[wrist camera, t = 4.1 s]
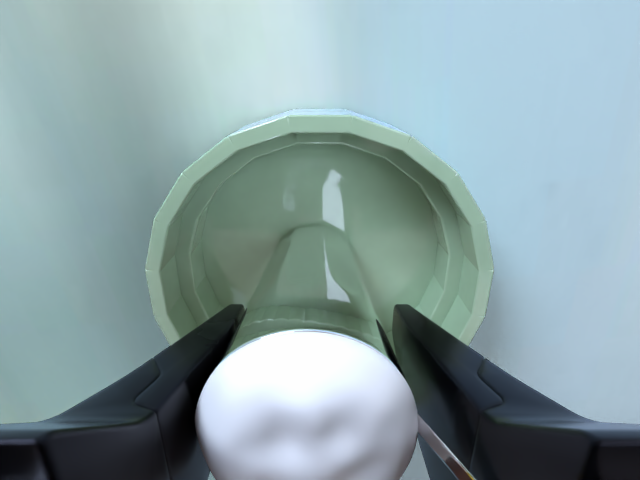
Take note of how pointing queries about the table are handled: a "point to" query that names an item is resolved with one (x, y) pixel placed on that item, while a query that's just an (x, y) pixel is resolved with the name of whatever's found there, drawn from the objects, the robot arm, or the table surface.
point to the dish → (321, 220)
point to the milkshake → (311, 378)
